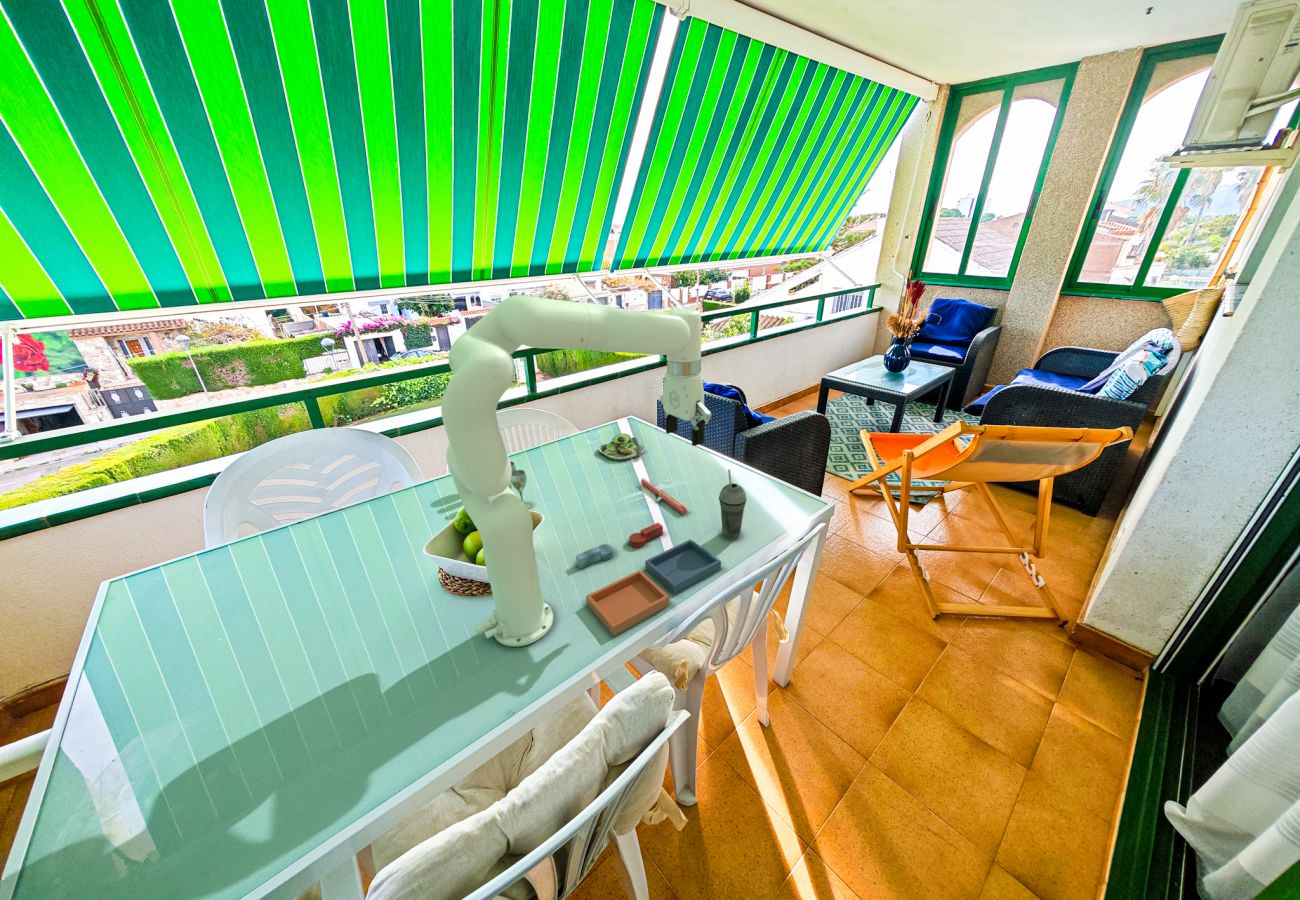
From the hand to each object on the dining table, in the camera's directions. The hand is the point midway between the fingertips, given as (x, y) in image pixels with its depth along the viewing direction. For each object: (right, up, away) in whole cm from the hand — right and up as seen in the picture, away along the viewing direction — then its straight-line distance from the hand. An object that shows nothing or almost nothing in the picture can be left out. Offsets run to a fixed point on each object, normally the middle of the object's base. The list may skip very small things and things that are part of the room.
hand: (684, 437), depth 109 cm
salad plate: (-19, -3, +71) cm, 73 cm away
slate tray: (0, -32, +4) cm, 33 cm away
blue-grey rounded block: (-23, -31, +9) cm, 39 cm away
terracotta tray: (-13, -38, -6) cm, 40 cm away
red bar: (-5, -18, +36) cm, 41 cm away
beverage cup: (+14, -26, +17) cm, 34 cm away
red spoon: (-9, -27, +17) cm, 33 cm away
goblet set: (-57, -18, +42) cm, 73 cm away
